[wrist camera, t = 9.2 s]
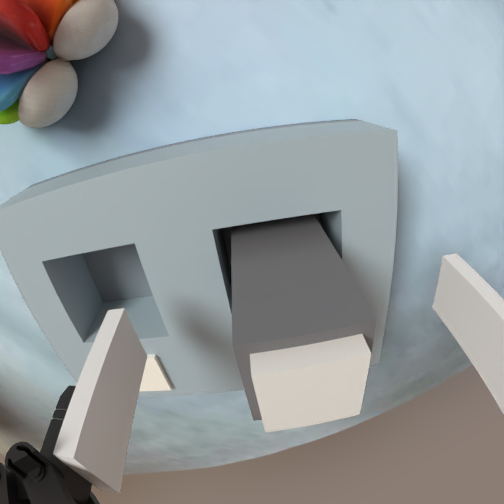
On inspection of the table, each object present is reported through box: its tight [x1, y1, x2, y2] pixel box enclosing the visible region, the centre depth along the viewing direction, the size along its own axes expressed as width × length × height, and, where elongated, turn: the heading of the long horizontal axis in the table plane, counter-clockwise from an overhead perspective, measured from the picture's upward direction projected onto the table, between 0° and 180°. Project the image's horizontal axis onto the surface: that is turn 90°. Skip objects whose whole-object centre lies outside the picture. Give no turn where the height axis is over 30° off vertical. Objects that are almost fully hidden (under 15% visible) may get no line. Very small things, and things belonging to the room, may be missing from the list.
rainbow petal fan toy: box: [0, 0, 119, 128], centre depth 9 cm, size 8×10×7 cm
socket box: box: [0, 119, 398, 397], centre depth 17 cm, size 20×14×5 cm
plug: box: [231, 214, 376, 432], centre depth 13 cm, size 4×4×11 cm
